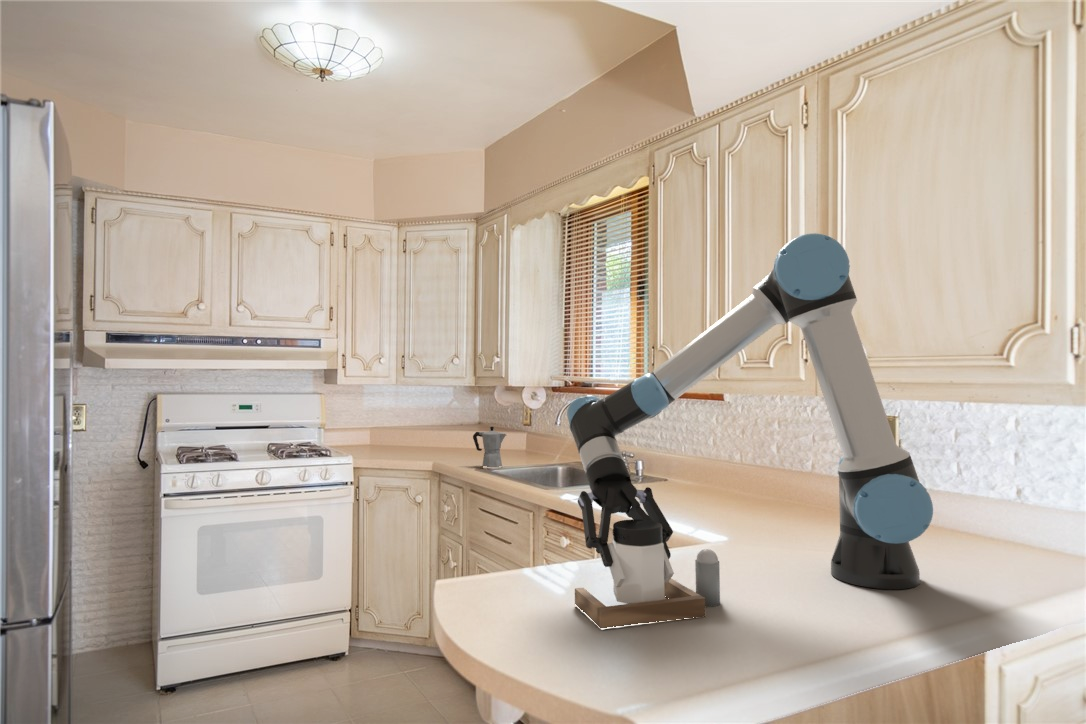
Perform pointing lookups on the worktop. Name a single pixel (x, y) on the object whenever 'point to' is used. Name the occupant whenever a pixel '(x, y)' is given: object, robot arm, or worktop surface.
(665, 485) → the worktop surface
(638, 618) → the dock
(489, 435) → the coffeepot
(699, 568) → the shaker
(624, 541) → the jar
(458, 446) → the worktop surface
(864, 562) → the robot arm
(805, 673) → the worktop surface
